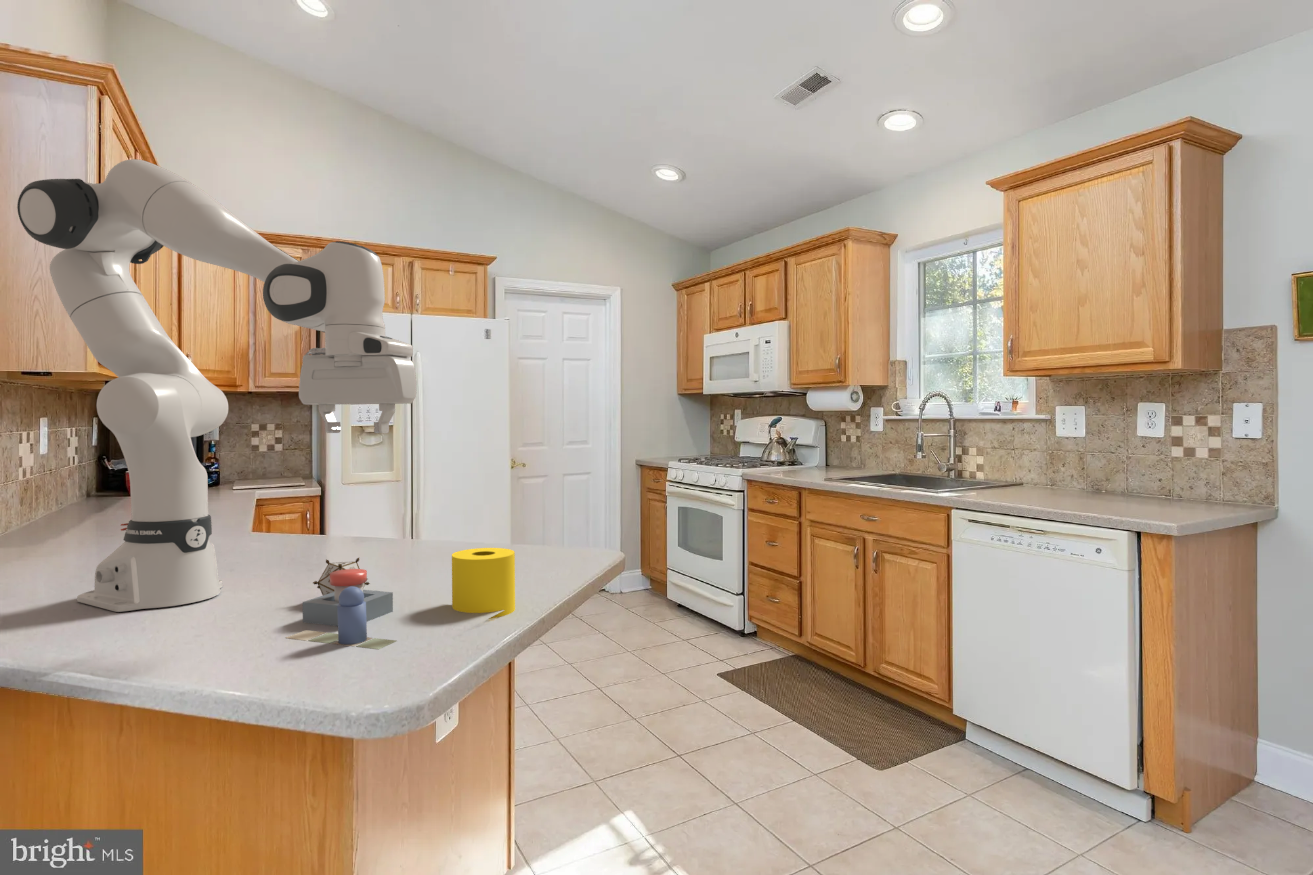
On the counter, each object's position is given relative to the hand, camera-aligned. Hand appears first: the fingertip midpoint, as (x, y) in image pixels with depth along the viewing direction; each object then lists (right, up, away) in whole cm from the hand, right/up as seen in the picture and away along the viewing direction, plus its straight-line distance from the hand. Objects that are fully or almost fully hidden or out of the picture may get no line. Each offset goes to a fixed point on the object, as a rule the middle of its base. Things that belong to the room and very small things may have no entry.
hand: (356, 433), depth 112 cm
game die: (-5, -29, +6) cm, 30 cm away
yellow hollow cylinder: (+20, -29, +3) cm, 35 cm away
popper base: (0, -29, -4) cm, 30 cm away
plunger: (0, -28, -4) cm, 29 cm away
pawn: (+6, -29, -16) cm, 33 cm away
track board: (+4, -30, -15) cm, 33 cm away
